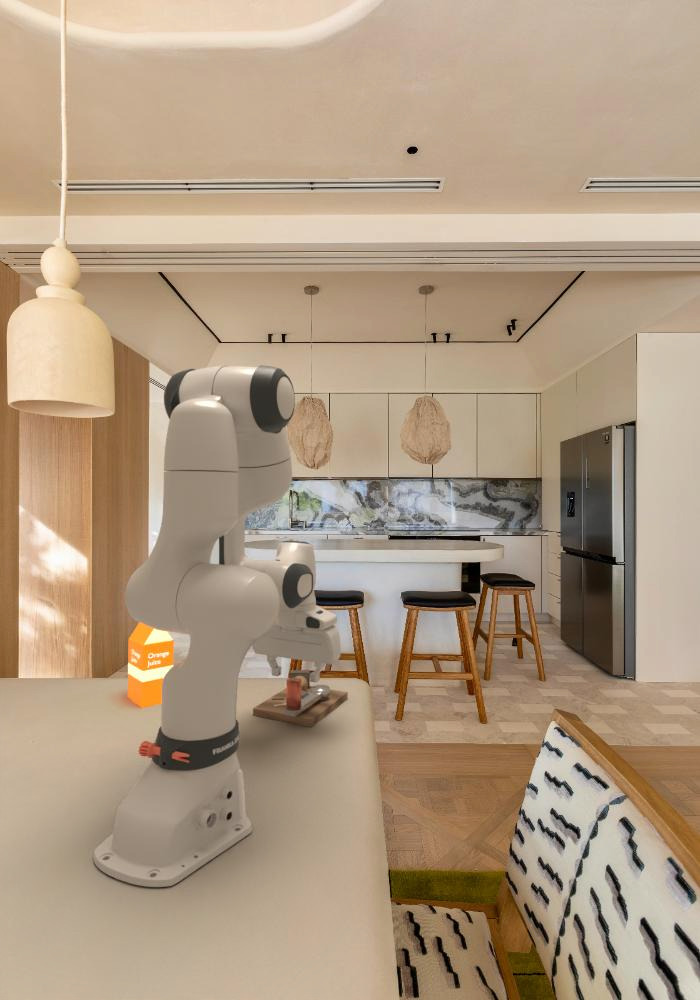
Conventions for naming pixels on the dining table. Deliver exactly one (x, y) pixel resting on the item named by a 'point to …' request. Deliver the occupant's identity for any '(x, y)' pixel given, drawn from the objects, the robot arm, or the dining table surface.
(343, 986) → the dining table surface
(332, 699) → the board
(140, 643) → the orange juice
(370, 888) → the dining table surface
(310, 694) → the lever
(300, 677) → the wooden ball
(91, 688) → the dining table surface
